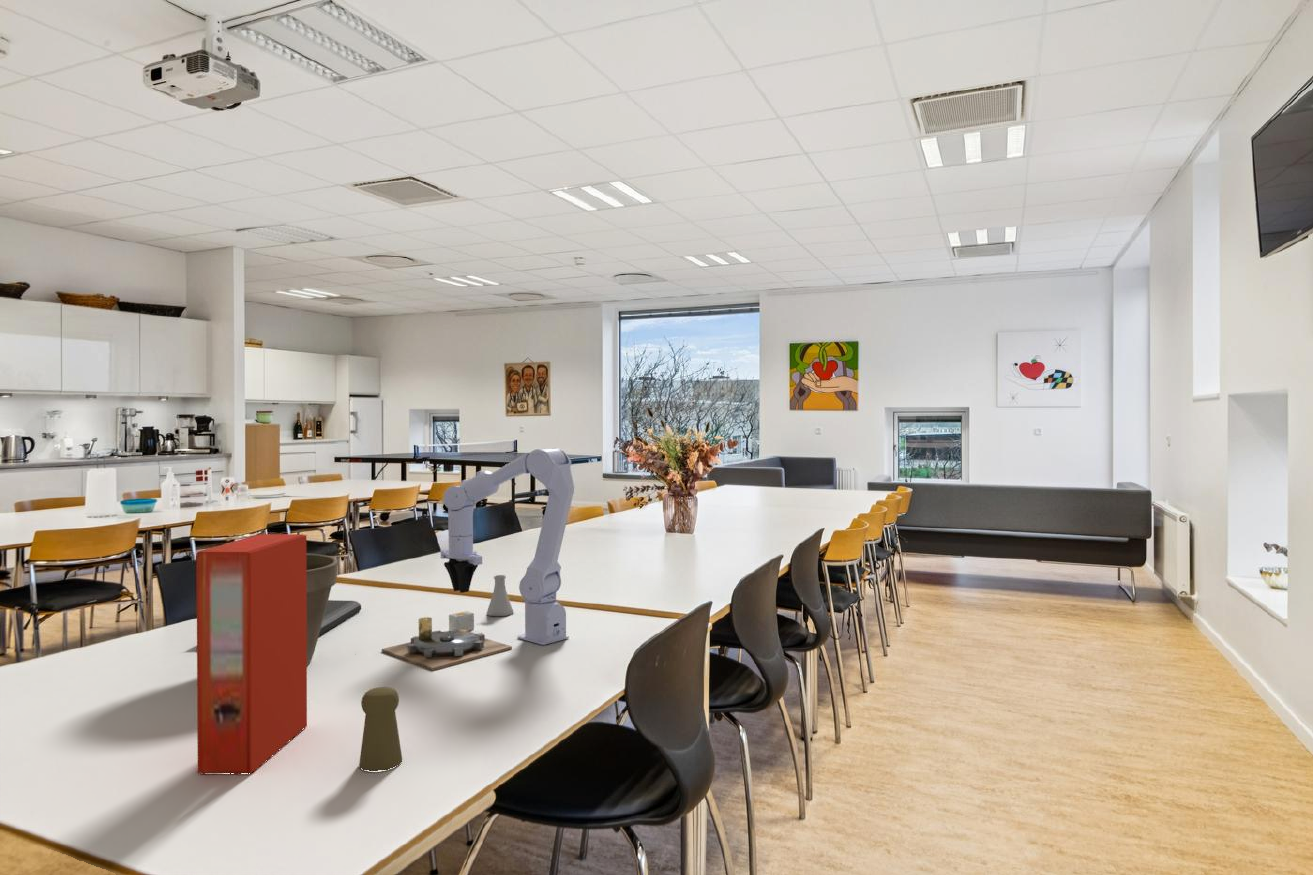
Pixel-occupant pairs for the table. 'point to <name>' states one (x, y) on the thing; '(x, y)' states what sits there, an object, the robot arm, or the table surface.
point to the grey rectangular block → (461, 621)
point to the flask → (499, 599)
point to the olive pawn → (380, 730)
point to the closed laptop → (338, 613)
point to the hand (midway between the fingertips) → (461, 591)
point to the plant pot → (318, 594)
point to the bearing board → (444, 661)
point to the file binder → (250, 650)
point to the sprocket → (444, 641)
